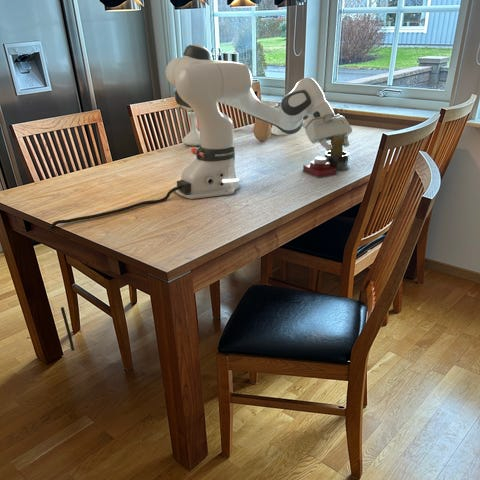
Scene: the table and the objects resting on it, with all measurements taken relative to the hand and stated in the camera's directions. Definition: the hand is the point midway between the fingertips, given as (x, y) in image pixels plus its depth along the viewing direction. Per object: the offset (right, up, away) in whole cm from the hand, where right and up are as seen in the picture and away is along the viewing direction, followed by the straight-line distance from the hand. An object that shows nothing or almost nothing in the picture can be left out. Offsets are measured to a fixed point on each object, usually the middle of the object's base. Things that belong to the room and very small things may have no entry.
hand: (338, 148), depth 185 cm
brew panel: (-7, -10, -1) cm, 12 cm away
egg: (-27, +18, +43) cm, 54 cm away
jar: (-17, +27, +57) cm, 65 cm away
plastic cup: (-24, +35, +69) cm, 81 cm away
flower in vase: (-60, +16, +39) cm, 73 cm away
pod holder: (0, -6, +5) cm, 8 cm away
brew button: (-8, -7, -3) cm, 10 cm away
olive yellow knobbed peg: (0, -6, +4) cm, 7 cm away
